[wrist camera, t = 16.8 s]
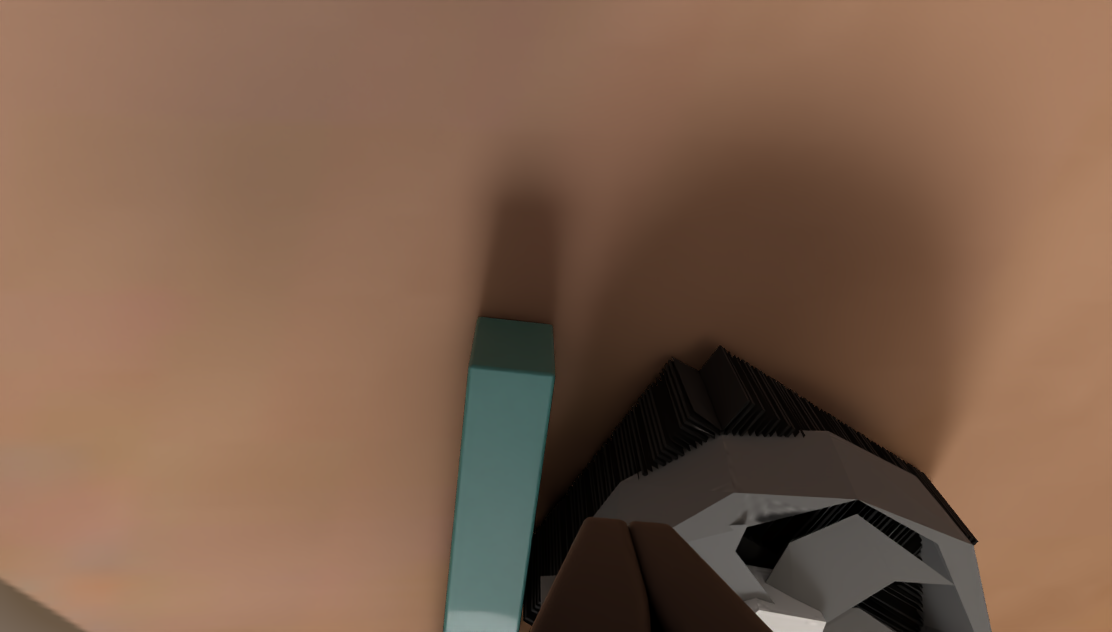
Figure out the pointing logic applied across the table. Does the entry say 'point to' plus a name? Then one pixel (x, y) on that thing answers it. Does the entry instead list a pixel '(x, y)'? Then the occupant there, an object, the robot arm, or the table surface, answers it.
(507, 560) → the corner stop
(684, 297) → the table surface
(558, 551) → the cpu cooler
